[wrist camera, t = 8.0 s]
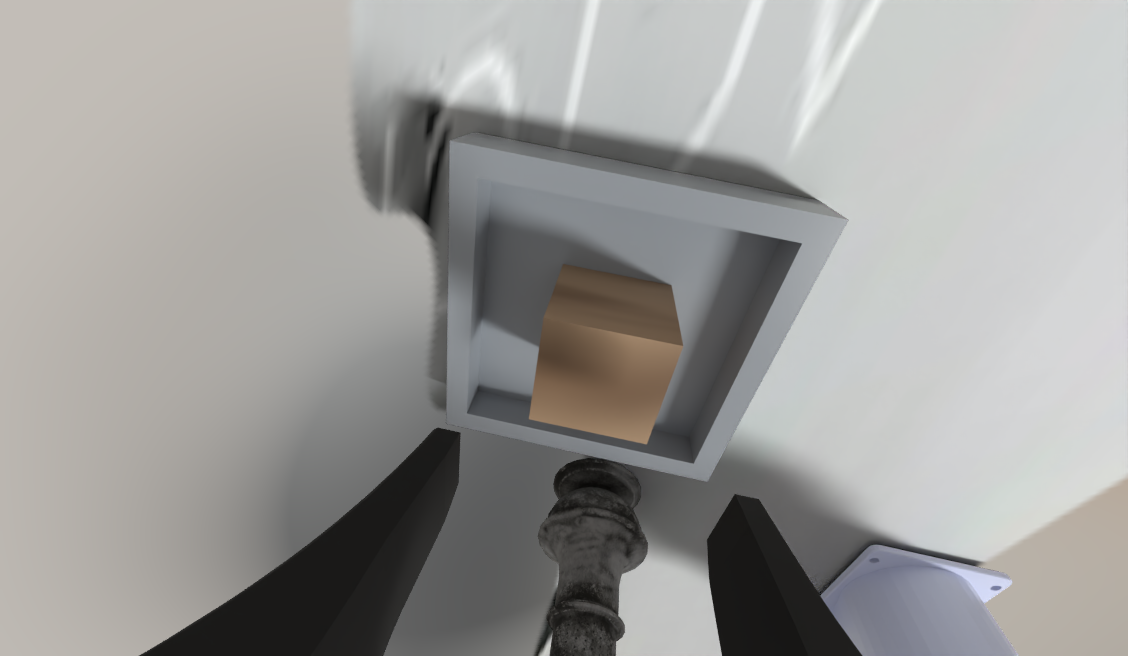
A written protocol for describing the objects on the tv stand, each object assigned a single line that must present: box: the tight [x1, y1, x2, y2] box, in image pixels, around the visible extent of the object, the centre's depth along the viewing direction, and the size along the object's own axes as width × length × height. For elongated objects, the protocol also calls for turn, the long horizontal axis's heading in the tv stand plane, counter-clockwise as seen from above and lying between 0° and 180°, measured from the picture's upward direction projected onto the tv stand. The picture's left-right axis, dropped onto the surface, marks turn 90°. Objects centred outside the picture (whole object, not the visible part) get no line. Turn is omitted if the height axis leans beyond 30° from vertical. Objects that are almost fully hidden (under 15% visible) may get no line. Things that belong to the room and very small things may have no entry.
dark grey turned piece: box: [538, 458, 648, 656], centre depth 20 cm, size 6×6×12 cm
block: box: [529, 264, 683, 444], centre depth 16 cm, size 4×4×4 cm
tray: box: [446, 132, 848, 482], centre depth 18 cm, size 13×13×2 cm
